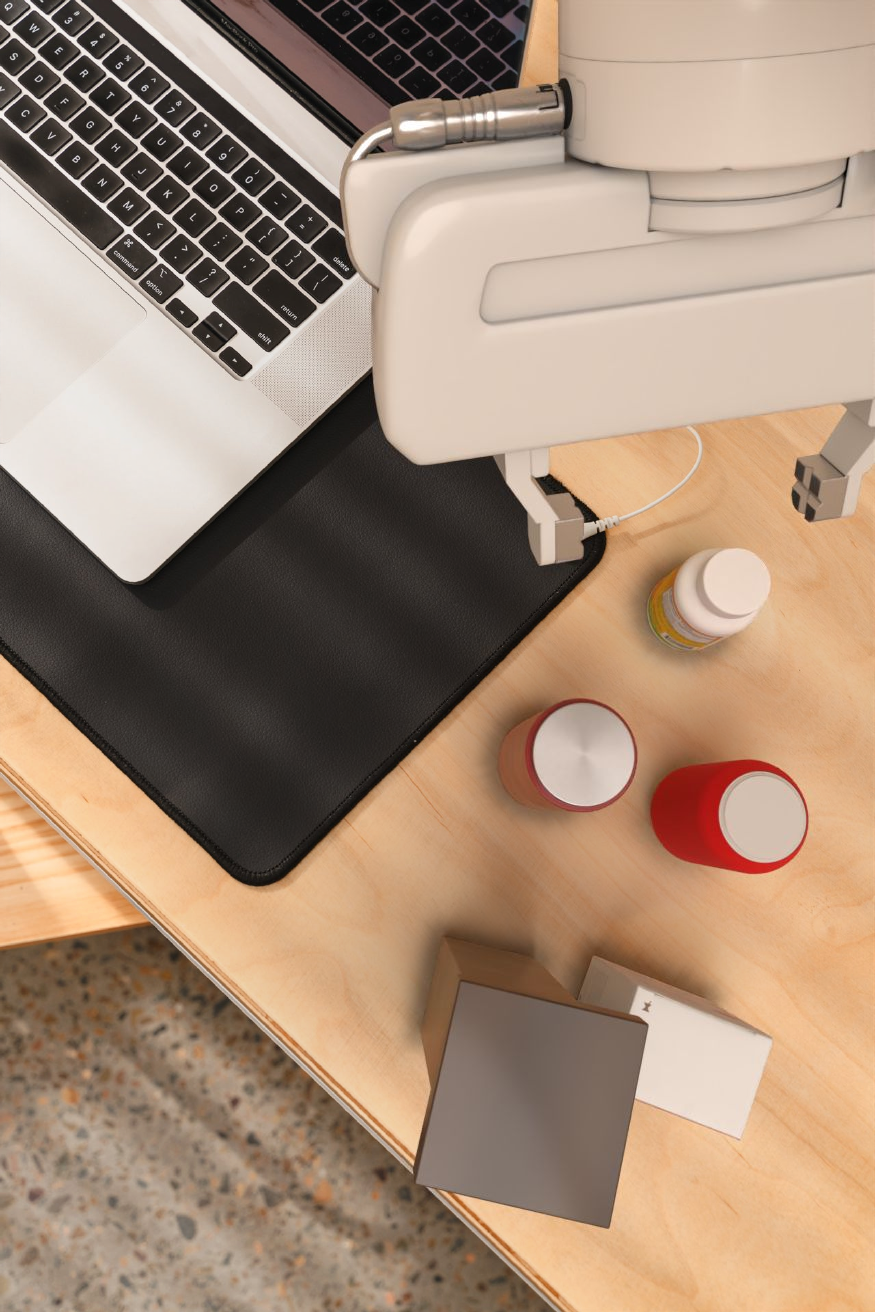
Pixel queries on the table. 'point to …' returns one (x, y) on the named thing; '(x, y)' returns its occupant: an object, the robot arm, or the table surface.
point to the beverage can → (731, 815)
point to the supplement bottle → (708, 598)
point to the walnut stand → (524, 1087)
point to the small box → (685, 1048)
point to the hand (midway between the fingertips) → (689, 533)
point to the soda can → (569, 758)
